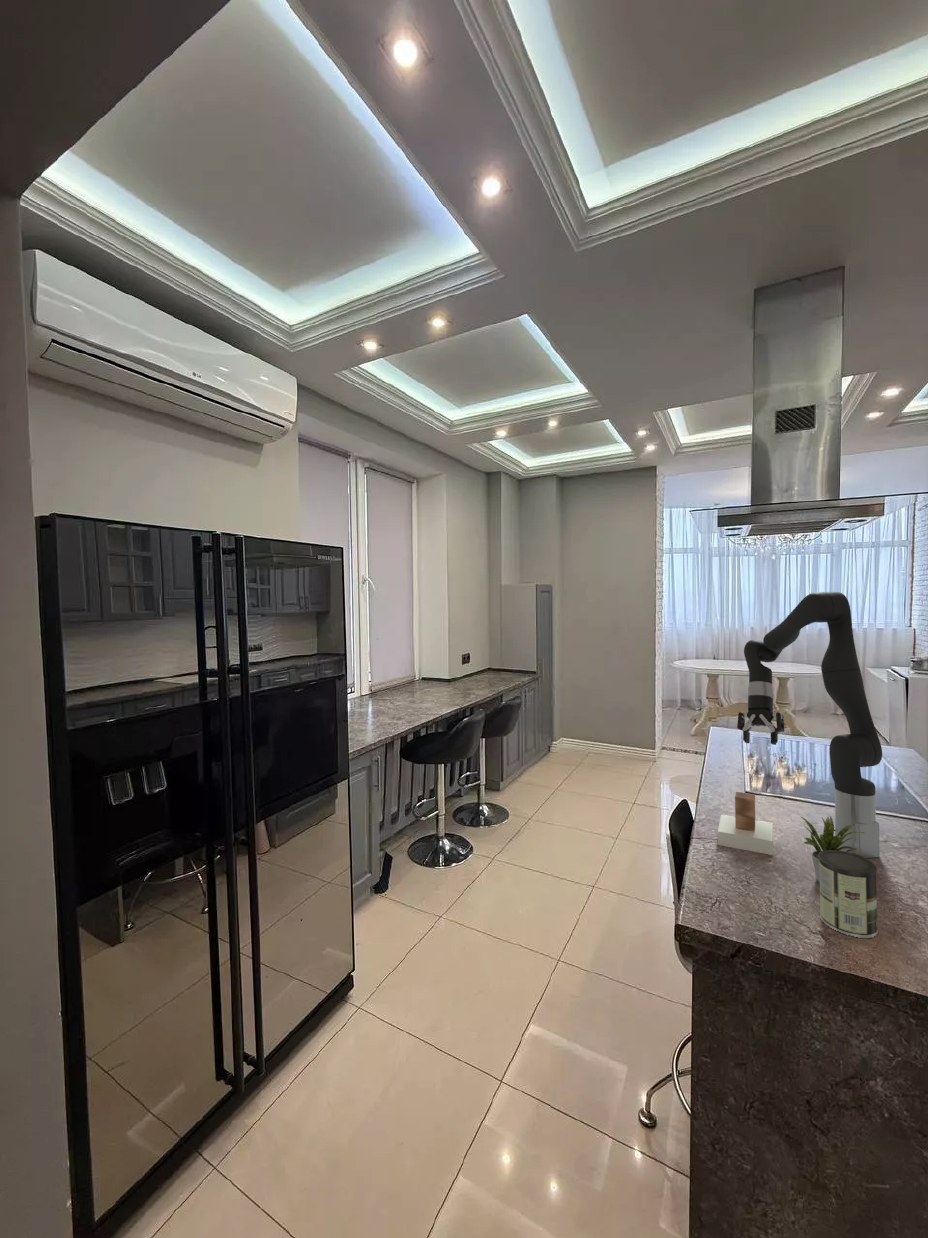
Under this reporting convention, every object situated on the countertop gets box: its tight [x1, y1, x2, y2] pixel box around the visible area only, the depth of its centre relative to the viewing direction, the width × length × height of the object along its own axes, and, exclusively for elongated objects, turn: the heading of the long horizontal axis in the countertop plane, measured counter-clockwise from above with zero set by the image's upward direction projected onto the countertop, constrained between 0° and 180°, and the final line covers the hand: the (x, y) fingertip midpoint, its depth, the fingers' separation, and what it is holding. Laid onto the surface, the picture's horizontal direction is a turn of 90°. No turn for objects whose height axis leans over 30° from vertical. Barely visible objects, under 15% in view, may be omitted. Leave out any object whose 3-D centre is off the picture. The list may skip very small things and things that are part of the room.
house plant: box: [799, 815, 864, 883], centre depth 127 cm, size 14×14×16 cm
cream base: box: [717, 814, 774, 856], centre depth 152 cm, size 14×14×4 cm
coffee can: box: [818, 850, 879, 939], centre depth 111 cm, size 10×10×14 cm
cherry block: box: [734, 791, 756, 832], centre depth 152 cm, size 5×5×10 cm
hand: (759, 743), depth 170 cm, fingers open, 8 cm apart
